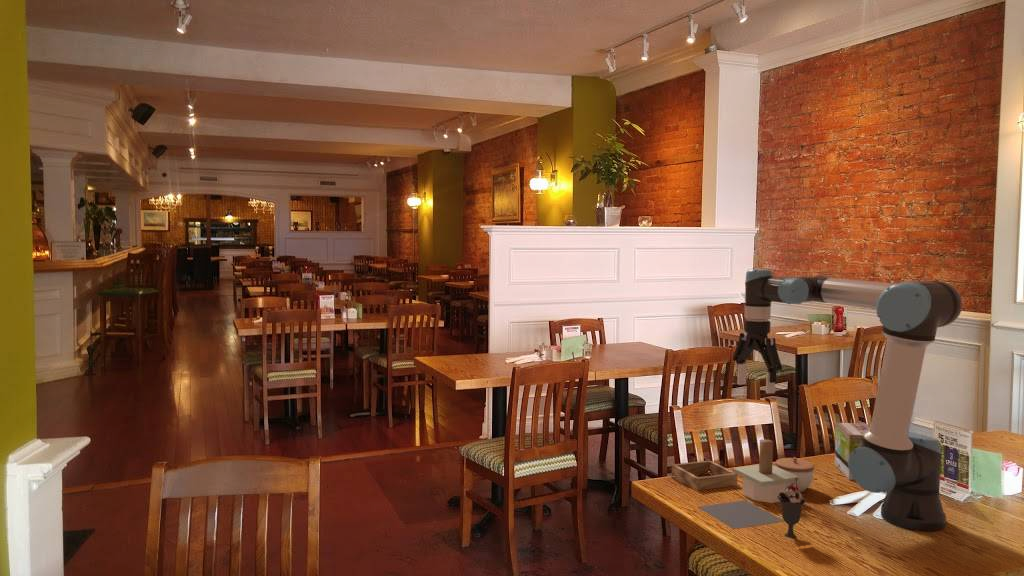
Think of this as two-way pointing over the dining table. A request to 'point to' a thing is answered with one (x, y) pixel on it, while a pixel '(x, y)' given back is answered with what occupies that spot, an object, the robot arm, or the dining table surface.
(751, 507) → the mat
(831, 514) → the dining table surface
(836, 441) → the tea box
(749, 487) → the bowl
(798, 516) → the sundae
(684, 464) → the tray
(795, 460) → the lidded jar
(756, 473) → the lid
